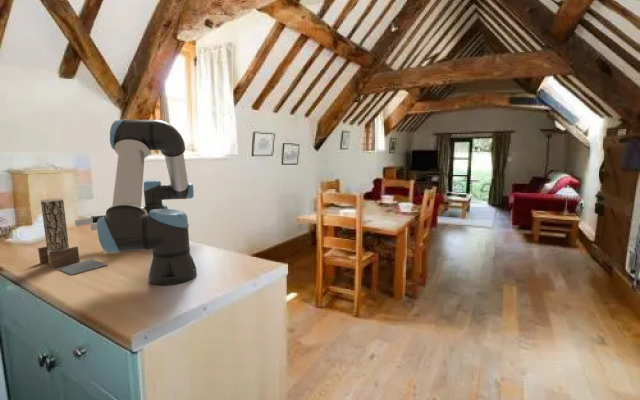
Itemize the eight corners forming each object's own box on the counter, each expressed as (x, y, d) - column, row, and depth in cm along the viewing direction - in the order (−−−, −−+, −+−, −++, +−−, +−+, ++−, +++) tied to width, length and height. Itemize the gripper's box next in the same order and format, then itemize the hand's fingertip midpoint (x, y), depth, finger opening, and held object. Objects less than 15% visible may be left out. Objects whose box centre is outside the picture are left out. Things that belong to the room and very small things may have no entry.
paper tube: (59, 265, 133) (50, 200, 129) (44, 264, 134) (35, 200, 130) (74, 260, 139) (67, 198, 136) (60, 259, 141) (53, 197, 137)
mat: (107, 265, 133) (107, 264, 133) (71, 275, 123) (71, 274, 123) (92, 260, 139) (91, 259, 139) (56, 269, 129) (56, 268, 129)
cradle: (79, 261, 137) (77, 246, 137) (52, 268, 130) (50, 252, 129) (66, 256, 144) (64, 242, 143) (40, 263, 136) (38, 248, 135)
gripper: (150, 227, 154) (99, 238, 137) (120, 221, 168) (70, 230, 150) (149, 210, 153) (97, 219, 136) (119, 206, 167) (68, 213, 149)
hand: (82, 225), depth 143 cm, fingers open, 13 cm apart
